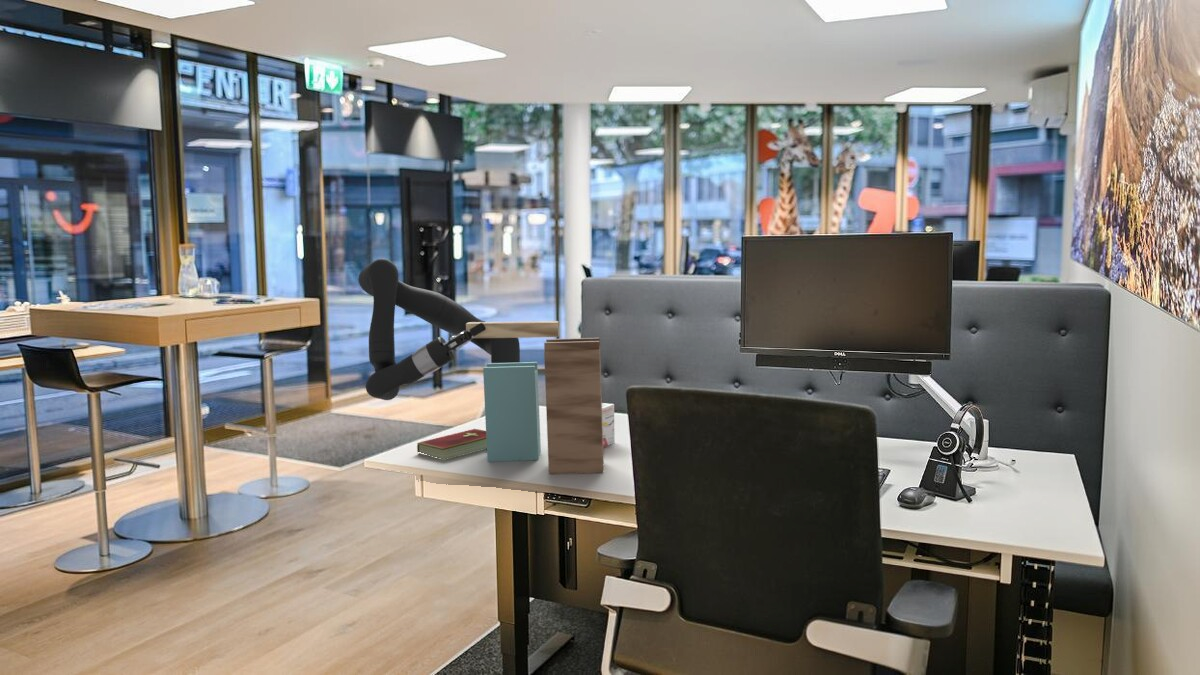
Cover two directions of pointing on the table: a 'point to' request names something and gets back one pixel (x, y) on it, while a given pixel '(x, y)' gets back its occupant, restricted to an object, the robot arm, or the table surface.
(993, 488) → the table surface
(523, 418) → the teal tall block
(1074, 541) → the table surface
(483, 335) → the oak block
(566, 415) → the walnut stand
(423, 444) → the hardcover book
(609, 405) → the ink cartridge box
